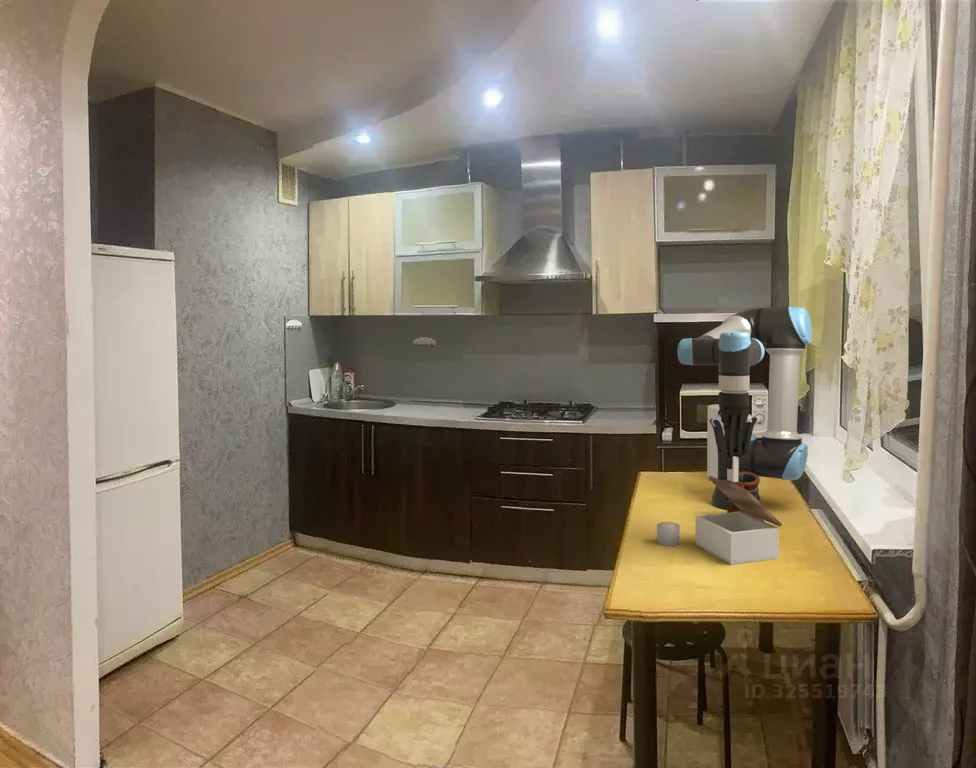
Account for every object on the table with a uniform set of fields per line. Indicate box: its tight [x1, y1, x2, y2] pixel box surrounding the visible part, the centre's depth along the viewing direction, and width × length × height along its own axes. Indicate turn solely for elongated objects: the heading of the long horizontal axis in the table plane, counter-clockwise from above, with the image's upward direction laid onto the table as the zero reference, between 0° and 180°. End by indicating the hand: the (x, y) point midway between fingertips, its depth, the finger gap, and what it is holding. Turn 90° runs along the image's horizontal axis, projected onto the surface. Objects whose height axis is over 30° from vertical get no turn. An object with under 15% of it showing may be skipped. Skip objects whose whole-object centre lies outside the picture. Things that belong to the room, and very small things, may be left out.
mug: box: [726, 472, 765, 522], centre depth 199 cm, size 18×12×15 cm, turn 153°
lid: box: [708, 476, 783, 528], centre depth 178 cm, size 14×16×1 cm
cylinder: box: [706, 403, 724, 481], centre depth 255 cm, size 17×17×28 cm
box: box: [695, 511, 780, 566], centre depth 179 cm, size 14×16×8 cm
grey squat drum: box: [656, 521, 681, 547], centre depth 187 cm, size 6×6×5 cm
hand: (732, 480), depth 177 cm, fingers closed
